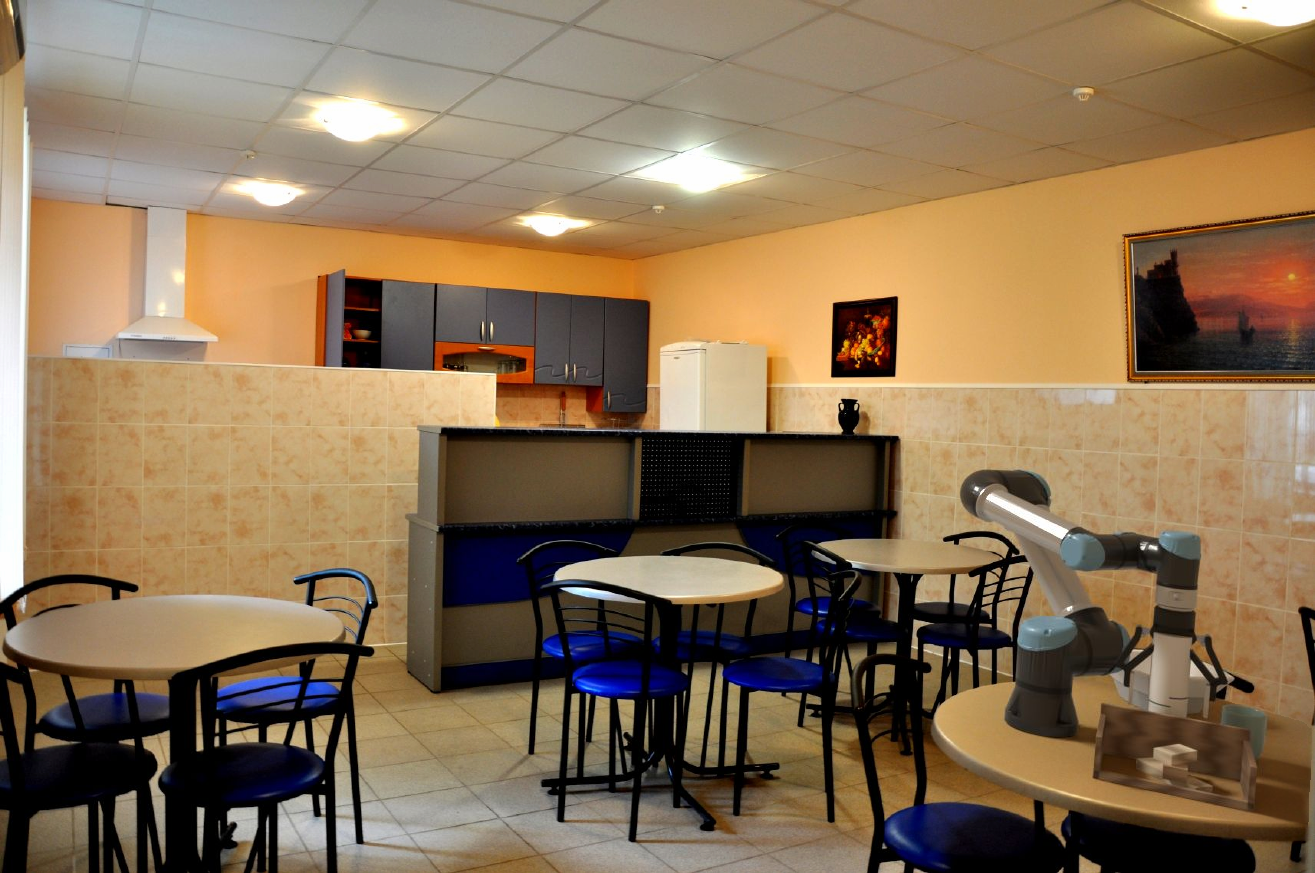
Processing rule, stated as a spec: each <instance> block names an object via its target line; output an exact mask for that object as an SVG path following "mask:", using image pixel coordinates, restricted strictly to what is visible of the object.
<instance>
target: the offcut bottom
mask: <svg viewBox="0 0 1315 873" xmlns="http://www.w3.org/2000/svg"><path fill="white" fill-rule="evenodd" d="M1135 769H1137V770H1139V771H1141V772H1143V773H1145V774H1147V775H1148V776H1150V777H1153V778H1155V779H1157V780H1159V782H1160V781H1161V783H1166V784H1171V785H1175V786H1180V787H1185V788H1190V789H1194V790H1199V791H1204V792H1209V793H1213V790H1214V786H1213V785H1211V784H1209V783H1206V781H1203V780H1200V779H1198V778H1197V777H1194V776H1193V775H1191V774H1189V773H1188V774H1187V784H1186V783H1181V782H1176V781H1171V780H1166V779H1162V774H1163V762H1161V761H1158V760H1156V759H1153V758H1140V759H1136V761H1135Z"/></svg>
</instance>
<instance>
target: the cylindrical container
mask: <svg viewBox="0 0 1315 873" xmlns="http://www.w3.org/2000/svg"><path fill="white" fill-rule="evenodd" d="M1151 643H1152V645H1153V644H1154V652H1153V653H1152V655H1151V668H1150V681H1149V693H1148V706H1147V711H1151V712H1157V713H1162V714H1168V715H1173V716H1179V717H1185V718H1188V717H1187V716H1188V714H1187V704H1188V692H1189V679H1190V666H1191V659H1190V649H1191V650H1192V649H1193V645H1192V637H1185V636H1178V635H1171V634H1164V633H1157V632H1154V638H1153V639H1152V642H1151Z"/></svg>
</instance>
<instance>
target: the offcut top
mask: <svg viewBox="0 0 1315 873" xmlns="http://www.w3.org/2000/svg"><path fill="white" fill-rule="evenodd" d="M1153 759H1156V760H1158V761H1161V762H1163V763H1166V764H1169V765H1171V766H1172V765H1178V764H1183V763H1189V762H1195V761H1197V750H1194V749H1192V748H1189V747H1186V746H1183V745H1181V744H1175V745H1169V746H1163V747H1157V748H1154V754H1153Z"/></svg>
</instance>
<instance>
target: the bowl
mask: <svg viewBox="0 0 1315 873" xmlns="http://www.w3.org/2000/svg"><path fill="white" fill-rule="evenodd" d="M1143 650H1144V649H1133V650H1132V653H1131V654H1130V660H1129V662H1130V661H1131V660H1132V659H1133V658H1135V657H1136V656H1137V655H1138V654H1139V653H1141V652H1142V651H1143ZM1151 655H1152V654H1151ZM1151 655H1150V656H1149V657H1148V658H1146V659H1145V660H1144V661H1143V662H1141V663H1140V664H1139V665H1138V666H1136V667H1135V668H1134V669H1133V670H1132V671H1135V675H1134V688H1133V701H1132V705H1131V706H1135V707H1136V708H1138V709H1140V710H1146V711H1147V706H1148V693H1149V681H1150V668H1151ZM1202 662H1203V663H1204V665H1205V666H1206V667H1207V668H1208V670H1209V671H1210V672H1211V674H1212V675H1213V676H1214V677H1215V678H1217V677H1218V675H1217V673H1216V671H1215V668H1214V666H1213V664H1210V663H1207V662H1205V661H1202ZM1223 671H1224V670H1223ZM1224 673H1225V675H1226V678H1227V681H1228V683H1227V684H1226V685H1219V686H1217V690H1216V694H1217V693H1218V692H1219V691H1221V690H1223V689H1224V688H1225V687H1226V686H1228V685H1229V684H1230V683H1232V682H1233V681H1235V677H1234V676H1232V674H1231V675H1230V674H1229V673H1228V672H1227V671H1224ZM1109 675H1110V677H1112V679H1113V681H1114V684H1115V686H1116V690H1117V692H1118V695H1119V697H1121V698H1122V699H1123V701H1126V702H1128V700H1129V687H1124V684H1123V683H1124V671H1123V670H1121V671H1120V672H1117V673H1113V674H1109ZM1205 683H1209V682H1208V681H1207V679H1206V678H1205V677H1204V676H1203V674H1202V673H1201V672H1200V670H1199V669H1198V668H1197V667H1196V665H1195V664H1194V663H1193V661H1192V660H1191V666H1190V679H1189V692H1188V704H1187V715H1194V714H1200V712H1201V711H1202V710H1203V706H1204V694H1205Z"/></svg>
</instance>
